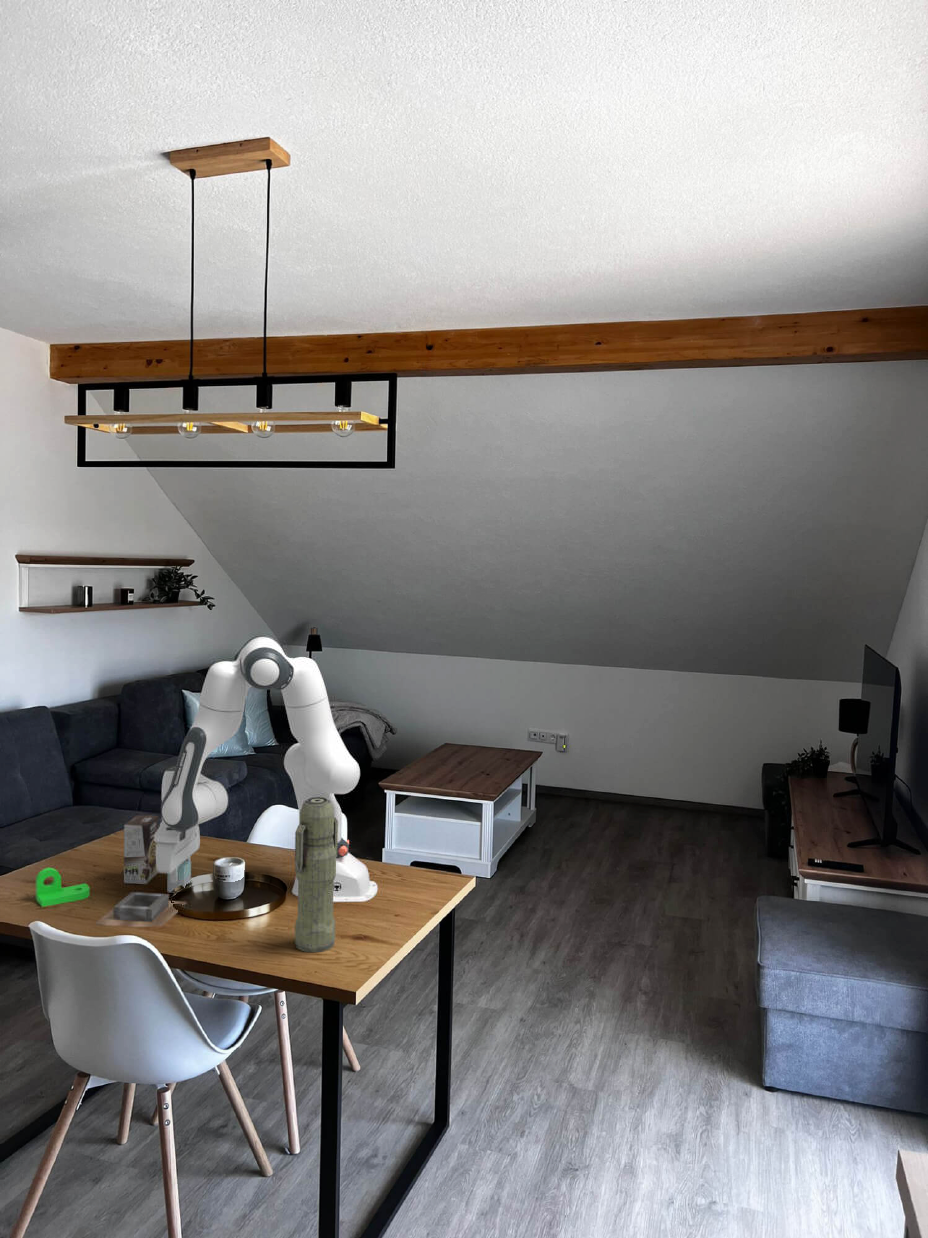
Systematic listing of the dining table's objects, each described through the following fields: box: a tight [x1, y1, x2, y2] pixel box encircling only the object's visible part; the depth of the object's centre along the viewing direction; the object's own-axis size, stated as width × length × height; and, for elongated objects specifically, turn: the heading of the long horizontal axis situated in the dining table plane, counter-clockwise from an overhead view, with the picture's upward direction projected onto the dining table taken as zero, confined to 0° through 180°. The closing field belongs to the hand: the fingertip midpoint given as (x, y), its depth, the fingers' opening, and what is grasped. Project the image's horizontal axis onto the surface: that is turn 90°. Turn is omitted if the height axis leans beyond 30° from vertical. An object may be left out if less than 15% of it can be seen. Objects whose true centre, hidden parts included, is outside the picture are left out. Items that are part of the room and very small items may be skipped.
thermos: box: [294, 797, 338, 953], centre depth 204 cm, size 9×12×35 cm
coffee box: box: [123, 814, 159, 885], centre depth 245 cm, size 9×6×16 cm
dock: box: [93, 891, 187, 928], centre depth 221 cm, size 16×16×4 cm
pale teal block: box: [166, 860, 192, 893], centre depth 239 cm, size 4×4×7 cm
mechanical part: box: [35, 867, 90, 907], centre depth 230 cm, size 12×6×8 cm, turn 128°
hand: (179, 877), depth 239 cm, fingers closed on pale teal block, 4 cm apart
